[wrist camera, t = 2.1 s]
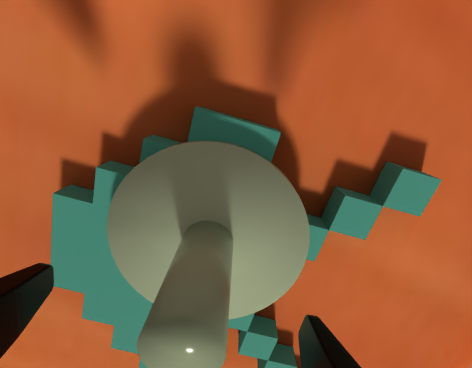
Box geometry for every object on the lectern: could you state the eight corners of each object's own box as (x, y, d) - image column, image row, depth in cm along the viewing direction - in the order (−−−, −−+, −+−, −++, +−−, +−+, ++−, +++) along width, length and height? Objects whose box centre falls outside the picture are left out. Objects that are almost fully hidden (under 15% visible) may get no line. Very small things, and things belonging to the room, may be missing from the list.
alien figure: (413, 168, 15) (85, 72, 14) (441, 180, 13) (56, 66, 11) (297, 379, 21) (68, 328, 20) (303, 410, 19) (47, 355, 18)
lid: (109, 286, 16) (11, 423, 9) (125, 115, 12) (-15, 134, 5) (272, 322, 16) (293, 475, 10) (334, 169, 13) (434, 244, 6)
